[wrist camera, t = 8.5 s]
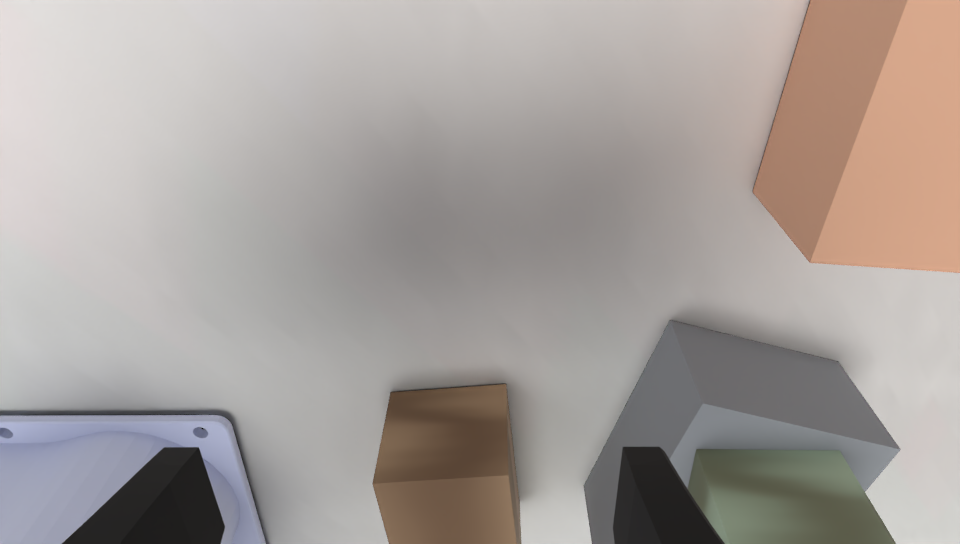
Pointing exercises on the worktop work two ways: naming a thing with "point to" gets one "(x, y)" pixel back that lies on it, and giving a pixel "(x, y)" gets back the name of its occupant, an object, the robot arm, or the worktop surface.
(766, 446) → the slate brick
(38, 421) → the robot arm
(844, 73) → the terracotta brick
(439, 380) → the worktop surface
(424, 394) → the walnut brick
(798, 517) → the sage brick
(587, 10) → the worktop surface
